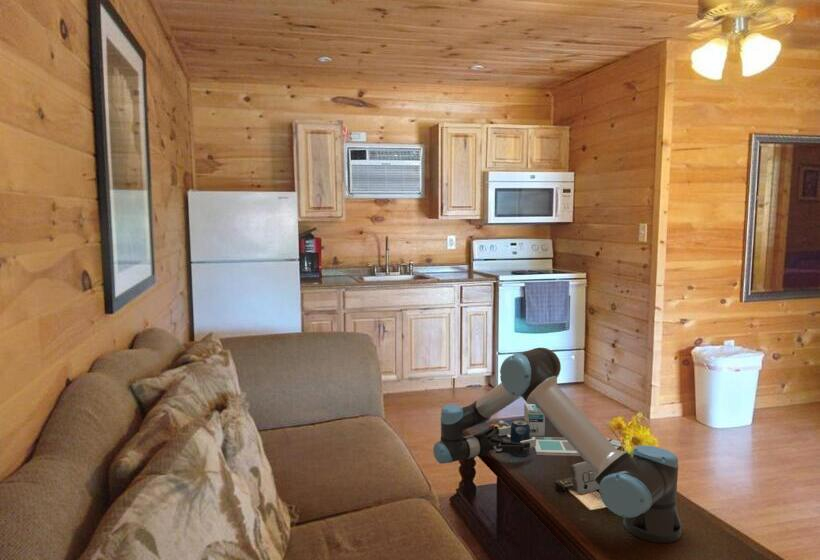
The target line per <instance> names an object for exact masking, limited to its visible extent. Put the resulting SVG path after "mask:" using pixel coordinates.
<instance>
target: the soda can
mask: <svg viewBox="0 0 820 560" xmlns="http://www.w3.org/2000/svg"><path fill="white" fill-rule="evenodd" d="M510 426H511V437H510V442H517V443H520V441H525V440H529V439H531V436H530V426H529V424H528V422H527V421H526V420H524V419H514V420H512V423H511V425H510ZM529 452H530V448H526V449H524V453H512V454H513V455H514V456H515V457H525V456H526V457H527V455H528V454H529Z"/></svg>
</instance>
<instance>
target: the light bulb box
mask: <svg viewBox="0 0 820 560" xmlns="http://www.w3.org/2000/svg"><path fill="white" fill-rule="evenodd" d="M523 403H524V405H523V407H524V408H523V410H524V411H523V412H524V413H523V415H524V416H523V417H524V418H523V420H526V421H527V422H528V424H529V426H530V437H546V436H545V435H546V431H545V430H546V429H545V427H546V416H545V415H544V414H543V413H542V412H541V410H540V409H539V408H538V407H537V406H536V405H535V404H528V403H527V402H526V401H524V402H523Z"/></svg>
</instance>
